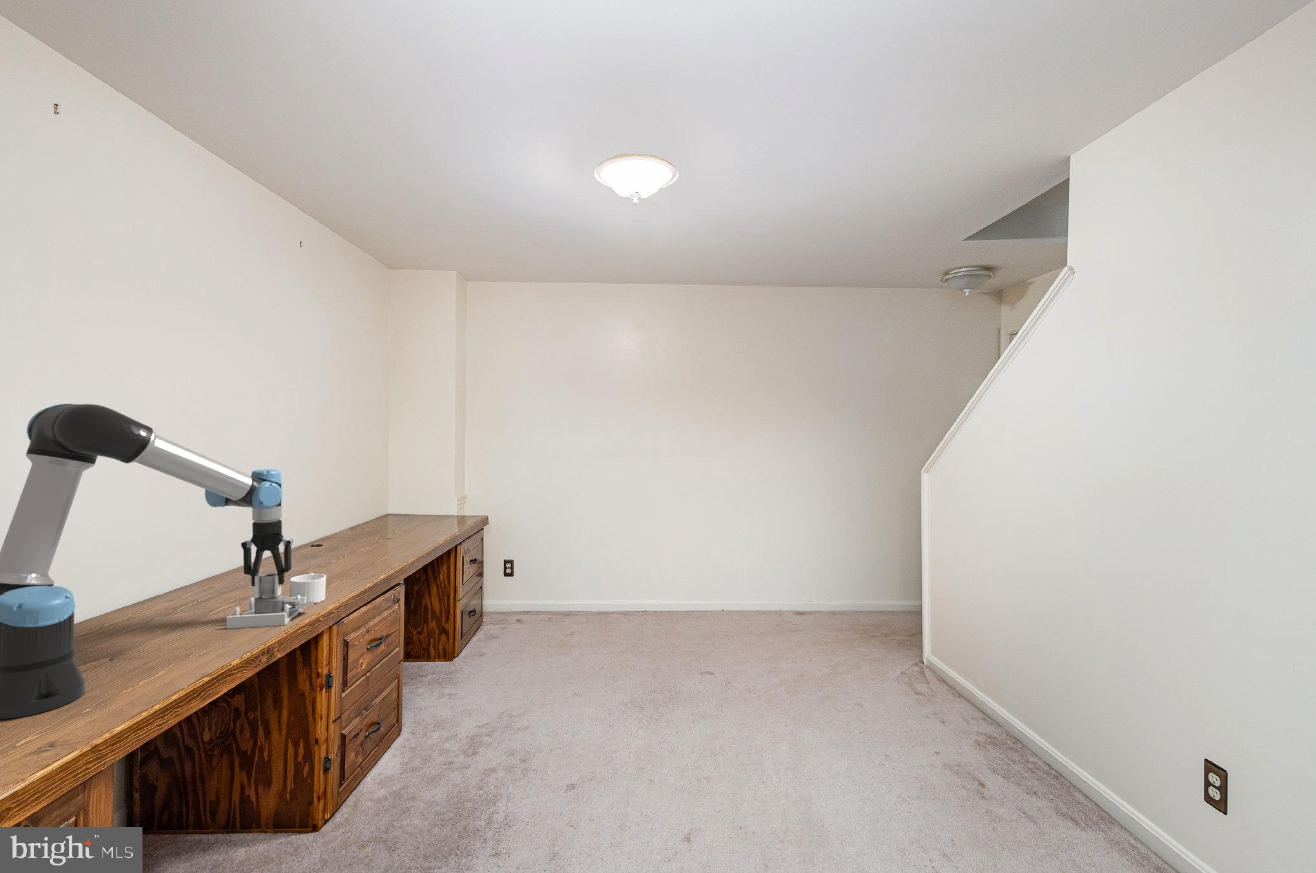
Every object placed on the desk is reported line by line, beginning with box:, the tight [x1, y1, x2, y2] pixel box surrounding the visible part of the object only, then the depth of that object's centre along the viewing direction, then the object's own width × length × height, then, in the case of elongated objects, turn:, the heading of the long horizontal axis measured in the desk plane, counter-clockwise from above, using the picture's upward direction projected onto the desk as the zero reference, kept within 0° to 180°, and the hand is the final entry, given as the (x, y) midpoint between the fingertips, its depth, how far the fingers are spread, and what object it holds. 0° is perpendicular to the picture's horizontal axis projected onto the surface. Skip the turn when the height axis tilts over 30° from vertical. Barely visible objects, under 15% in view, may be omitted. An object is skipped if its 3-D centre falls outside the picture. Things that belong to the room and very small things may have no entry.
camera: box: [254, 572, 315, 614], centre depth 182 cm, size 9×12×15 cm
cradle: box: [226, 595, 306, 630], centre depth 180 cm, size 18×15×5 cm
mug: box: [289, 572, 327, 605], centre depth 198 cm, size 13×10×8 cm
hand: (268, 595), depth 181 cm, fingers closed on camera, 5 cm apart
